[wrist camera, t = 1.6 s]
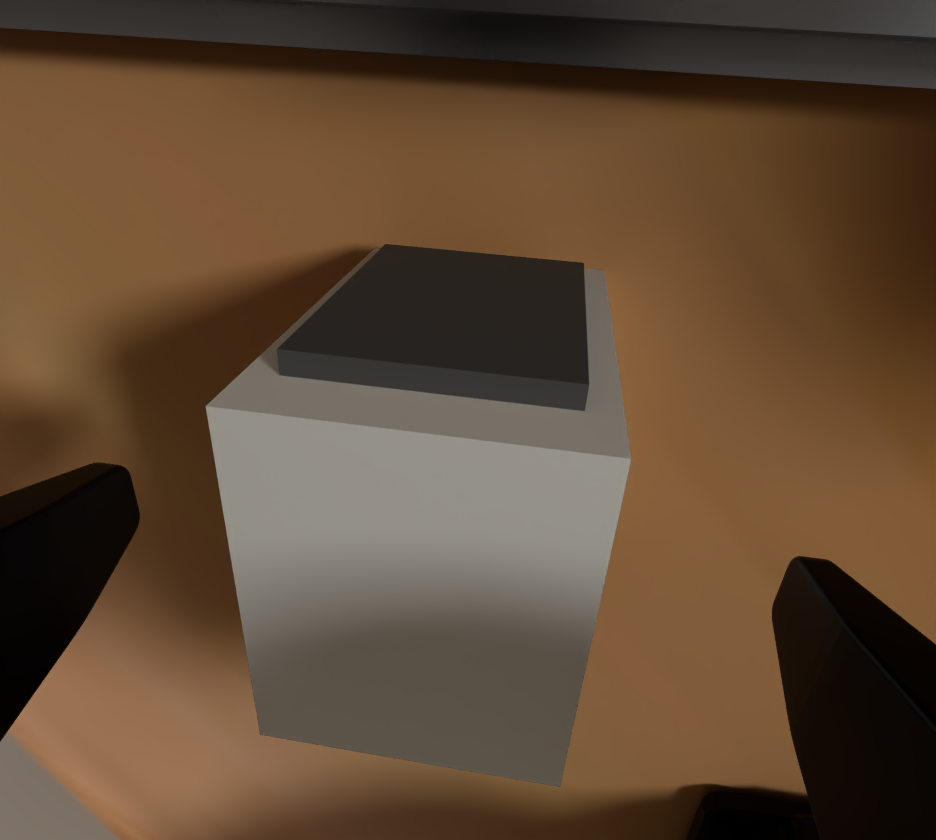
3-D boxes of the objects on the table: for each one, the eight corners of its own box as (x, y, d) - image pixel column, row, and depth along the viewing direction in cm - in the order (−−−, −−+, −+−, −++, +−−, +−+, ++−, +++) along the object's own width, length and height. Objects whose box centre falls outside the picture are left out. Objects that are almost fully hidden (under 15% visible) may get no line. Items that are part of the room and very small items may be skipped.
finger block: (565, 505, 13) (559, 786, 8) (378, 481, 14) (259, 734, 9) (607, 252, 11) (637, 430, 6) (374, 230, 11) (199, 377, 6)
